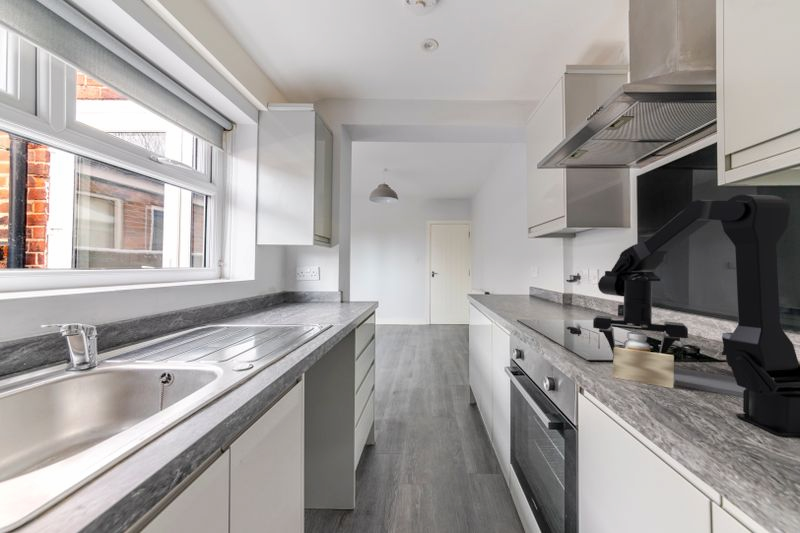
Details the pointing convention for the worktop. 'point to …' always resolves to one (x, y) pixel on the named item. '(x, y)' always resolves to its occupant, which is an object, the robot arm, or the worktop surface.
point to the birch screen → (643, 366)
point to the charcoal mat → (707, 382)
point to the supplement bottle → (637, 342)
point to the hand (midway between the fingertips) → (636, 359)
